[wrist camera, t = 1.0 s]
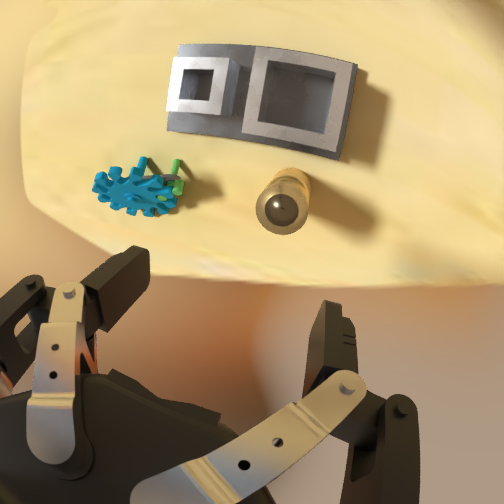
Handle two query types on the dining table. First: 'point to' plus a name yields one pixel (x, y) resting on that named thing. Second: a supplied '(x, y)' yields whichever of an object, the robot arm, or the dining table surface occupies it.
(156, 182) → the gear
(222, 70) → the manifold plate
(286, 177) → the cylinder
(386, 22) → the dining table surface
